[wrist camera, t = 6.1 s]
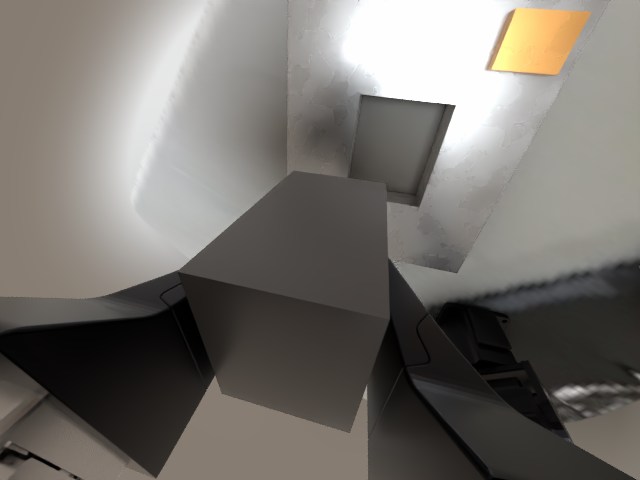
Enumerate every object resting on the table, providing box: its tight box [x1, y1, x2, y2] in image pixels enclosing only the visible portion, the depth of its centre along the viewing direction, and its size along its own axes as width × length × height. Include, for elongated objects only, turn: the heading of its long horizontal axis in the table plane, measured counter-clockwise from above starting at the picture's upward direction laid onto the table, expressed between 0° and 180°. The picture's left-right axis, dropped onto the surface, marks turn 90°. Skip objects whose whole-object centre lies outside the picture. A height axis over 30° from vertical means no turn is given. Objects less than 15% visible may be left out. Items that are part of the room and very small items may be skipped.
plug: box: [178, 171, 390, 433], centre depth 8 cm, size 5×4×7 cm
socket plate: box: [287, 0, 610, 273], centre depth 17 cm, size 18×16×3 cm
